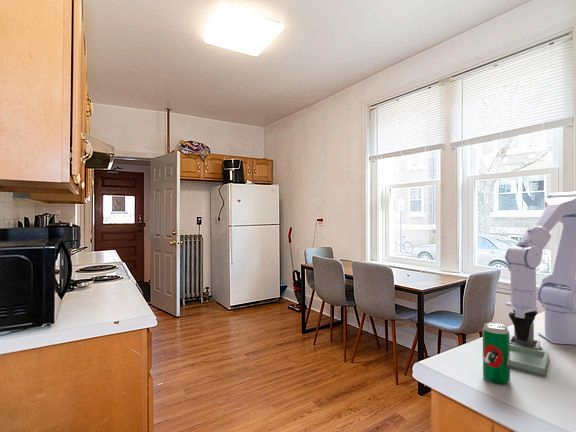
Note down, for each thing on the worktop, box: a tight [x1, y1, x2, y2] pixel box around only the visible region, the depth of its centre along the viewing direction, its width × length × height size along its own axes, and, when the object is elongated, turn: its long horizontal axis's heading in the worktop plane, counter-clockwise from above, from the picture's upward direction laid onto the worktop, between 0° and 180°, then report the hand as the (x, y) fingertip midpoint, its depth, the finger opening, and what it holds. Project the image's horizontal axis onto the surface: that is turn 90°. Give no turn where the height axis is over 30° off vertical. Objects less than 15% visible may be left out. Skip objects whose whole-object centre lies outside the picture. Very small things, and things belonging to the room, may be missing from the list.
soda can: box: [482, 322, 511, 385], centre depth 72 cm, size 5×5×12 cm
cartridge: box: [513, 321, 535, 347], centre depth 90 cm, size 4×4×7 cm
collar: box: [510, 335, 541, 350], centre depth 90 cm, size 7×7×2 cm
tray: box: [510, 344, 550, 378], centre depth 81 cm, size 12×12×2 cm
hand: (523, 338), depth 90 cm, fingers closed on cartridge, 4 cm apart
